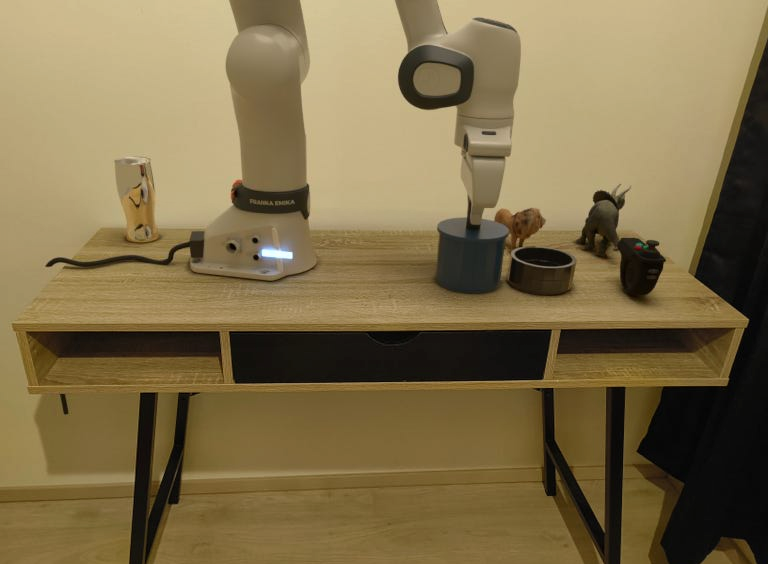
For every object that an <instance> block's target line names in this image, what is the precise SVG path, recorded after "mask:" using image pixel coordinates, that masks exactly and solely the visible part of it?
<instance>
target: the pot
mask: <svg viewBox="0 0 768 564" xmlns="http://www.w3.org/2000/svg"><path fill="white" fill-rule="evenodd" d="M506 239H507V238H505V239H503V240H500V241H495V242H484V243H478V242H466V241H459V240H455V239H451V238H448V237H446V236H443V235H442V234H440V233H439V232H438V243H437V255H436V256H437V257H436V269H435V281H436V283H437V285H439V286H440V287H442V288H444V289H446V290H448V291H452V292H457V293H462V294H484V293H489V292H493V291H495V290H497V289H498V288H499V286H500V282H501V278H502V277H501V276H502V269H503V262H504V255H505V246H506Z"/></svg>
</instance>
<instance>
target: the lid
mask: <svg viewBox="0 0 768 564" xmlns="http://www.w3.org/2000/svg"><path fill="white" fill-rule="evenodd" d="M471 206H472V203H471V200H469V202H468V201H467V207H468V212H467V211H466V217H452V218H446V219H443V220H441V221H440V222H438V223H437V226H436V230H437V232H438V234H439V233H440V234H442V235H443V236H446V237H448V238H451V239H455V240H459V241H466V242H478V243H484V242H495V241H500V240H503V239H505V238H506V239H507V238H508V237H509V235H510V234H509V229H508V228H507V227H506V226H505V225H503V224H501V223H498V222H495V221H494V220H492V219H487V218H482V221H481V224H480V225H472V224H471V223H470V212H471Z"/></svg>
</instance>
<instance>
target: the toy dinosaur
mask: <svg viewBox="0 0 768 564" xmlns="http://www.w3.org/2000/svg"><path fill="white" fill-rule="evenodd" d="M621 185H622V183H619V184H618V185H617V186H616V187H614V189H613V190H612V191H611V193H610V192H609V191H608V192H607V191H606V190H603V189H597V190H596V191H595V192H594V194H593V195H592V202H593V205H592V207H590V210H589V211H588V214H587V217H586V218H585V221H584V223H585V224H584V226H583V227H582V229H581V236H580V237H579V238H576V239H575V240H576V241H575V243H577V244H585V243H587V244H586V245H583V246H582V248H581V249H582V250H583V251H589V252H592V251H593V250H594V249H595V246H596V235H599V236H600V237H602V239H601V240H600V245H599V247H598V248H597V250H596V251H597V252H595V255H596V256H599V257H603V258H606V259H607V258H609V256H608V254H607V251H608V248H609V246H611V243H612V244H613V247H612V251H613V252H619V250H618V248H617V244H618V242H619V241H620V239H619V236H618V233H617V228H618V226H619V218H620V210H622V209H623V208H624V206H625V203H626V199H625V198H626V193H628V192H629V191H630V190H631V189H632V185H629V187H628V188H626V189H624V190H623V191H621V192H620V193H618V194H617V191H618V189H619V188H620V186H621Z"/></svg>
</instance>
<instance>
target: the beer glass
mask: <svg viewBox="0 0 768 564" xmlns="http://www.w3.org/2000/svg"><path fill="white" fill-rule="evenodd" d="M113 163H114V173H115V174H114V175H115V183H116V184H115V185H116V190H117V194H118V197H119V200H120V204H121V207H122V210H123V213H124V217H125V222H126V240H127V241H128V242H131V243H137V244H138V243H140V244H142V243H151V242H154V241H156V240H158V239H159V237H160V234H159V232H158V228H157V225H156V217H155V216H156V215H155V212H156V210H155V208H156V180H155V173H154V168H153V164H152V159H151V158H150V157H146V156H123V157H118V158H116V159H115V160H114V161H113Z"/></svg>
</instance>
